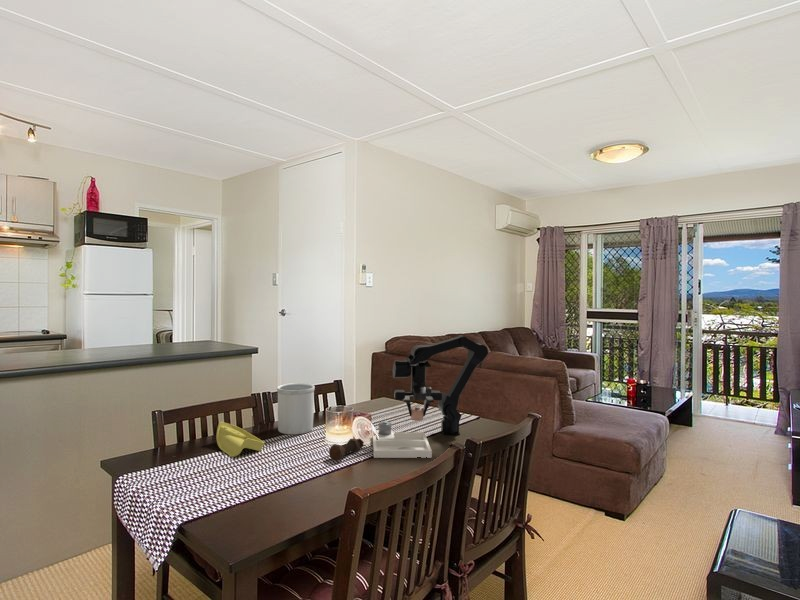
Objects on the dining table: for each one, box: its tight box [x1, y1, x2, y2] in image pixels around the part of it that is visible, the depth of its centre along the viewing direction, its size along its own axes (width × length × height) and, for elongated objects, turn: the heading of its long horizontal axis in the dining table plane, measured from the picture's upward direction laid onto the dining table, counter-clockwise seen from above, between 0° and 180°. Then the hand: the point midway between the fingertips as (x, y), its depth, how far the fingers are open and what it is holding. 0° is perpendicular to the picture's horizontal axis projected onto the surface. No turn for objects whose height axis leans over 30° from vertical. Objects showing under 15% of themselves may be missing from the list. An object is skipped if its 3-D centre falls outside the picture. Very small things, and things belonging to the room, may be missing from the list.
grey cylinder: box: [378, 420, 392, 435], centre depth 184 cm, size 5×5×5 cm
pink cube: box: [410, 406, 424, 422], centre depth 186 cm, size 5×5×5 cm
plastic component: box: [216, 421, 265, 458], centre depth 166 cm, size 20×7×10 cm
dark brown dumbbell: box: [328, 438, 364, 462], centre depth 162 cm, size 6×5×15 cm
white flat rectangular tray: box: [372, 429, 433, 459], centre depth 174 cm, size 20×29×2 cm
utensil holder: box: [276, 382, 316, 435], centre depth 187 cm, size 15×15×18 cm
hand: (417, 416), depth 186 cm, fingers closed on pink cube, 5 cm apart
